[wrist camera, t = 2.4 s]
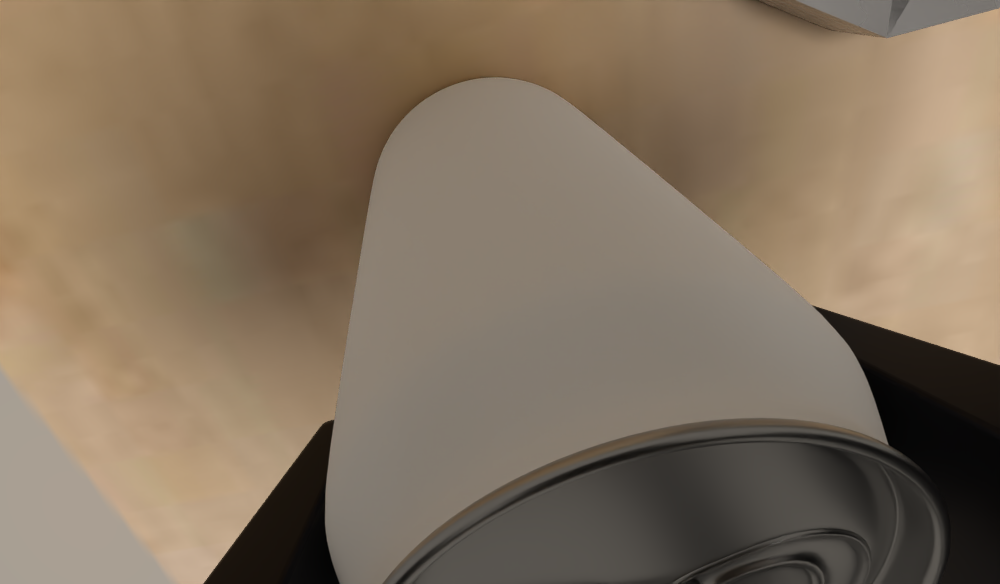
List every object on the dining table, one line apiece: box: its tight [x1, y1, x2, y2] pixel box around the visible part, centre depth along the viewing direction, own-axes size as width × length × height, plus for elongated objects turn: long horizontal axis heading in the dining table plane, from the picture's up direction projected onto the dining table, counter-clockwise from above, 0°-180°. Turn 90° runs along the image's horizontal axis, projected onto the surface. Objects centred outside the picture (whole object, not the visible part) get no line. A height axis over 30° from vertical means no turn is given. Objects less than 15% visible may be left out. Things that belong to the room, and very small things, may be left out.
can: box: [325, 77, 951, 584], centre depth 10 cm, size 6×6×12 cm
